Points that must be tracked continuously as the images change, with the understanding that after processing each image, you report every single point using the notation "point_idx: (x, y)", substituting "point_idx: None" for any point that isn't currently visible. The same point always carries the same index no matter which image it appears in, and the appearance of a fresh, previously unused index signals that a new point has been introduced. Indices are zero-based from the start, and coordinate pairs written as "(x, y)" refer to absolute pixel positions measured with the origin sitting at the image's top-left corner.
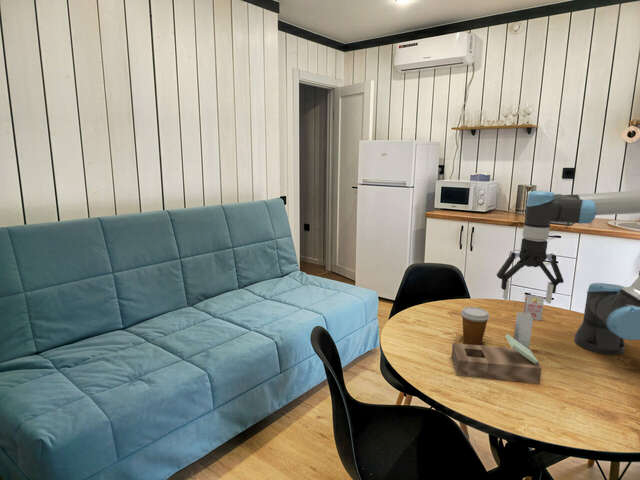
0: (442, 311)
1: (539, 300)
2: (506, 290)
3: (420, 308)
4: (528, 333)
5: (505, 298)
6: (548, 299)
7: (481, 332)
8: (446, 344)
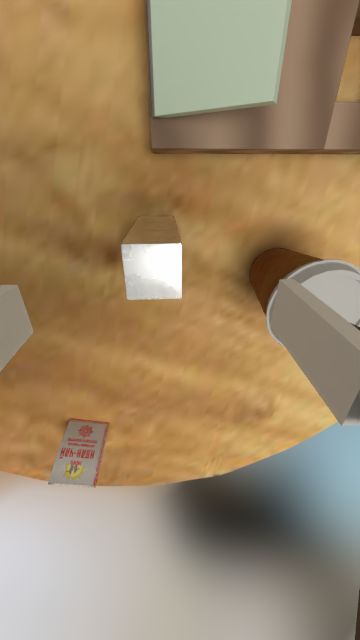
0: (283, 416)
1: (62, 471)
2: (329, 309)
3: (327, 418)
4: (140, 228)
5: (296, 282)
6: (5, 300)
7: (278, 261)
8: (352, 240)
